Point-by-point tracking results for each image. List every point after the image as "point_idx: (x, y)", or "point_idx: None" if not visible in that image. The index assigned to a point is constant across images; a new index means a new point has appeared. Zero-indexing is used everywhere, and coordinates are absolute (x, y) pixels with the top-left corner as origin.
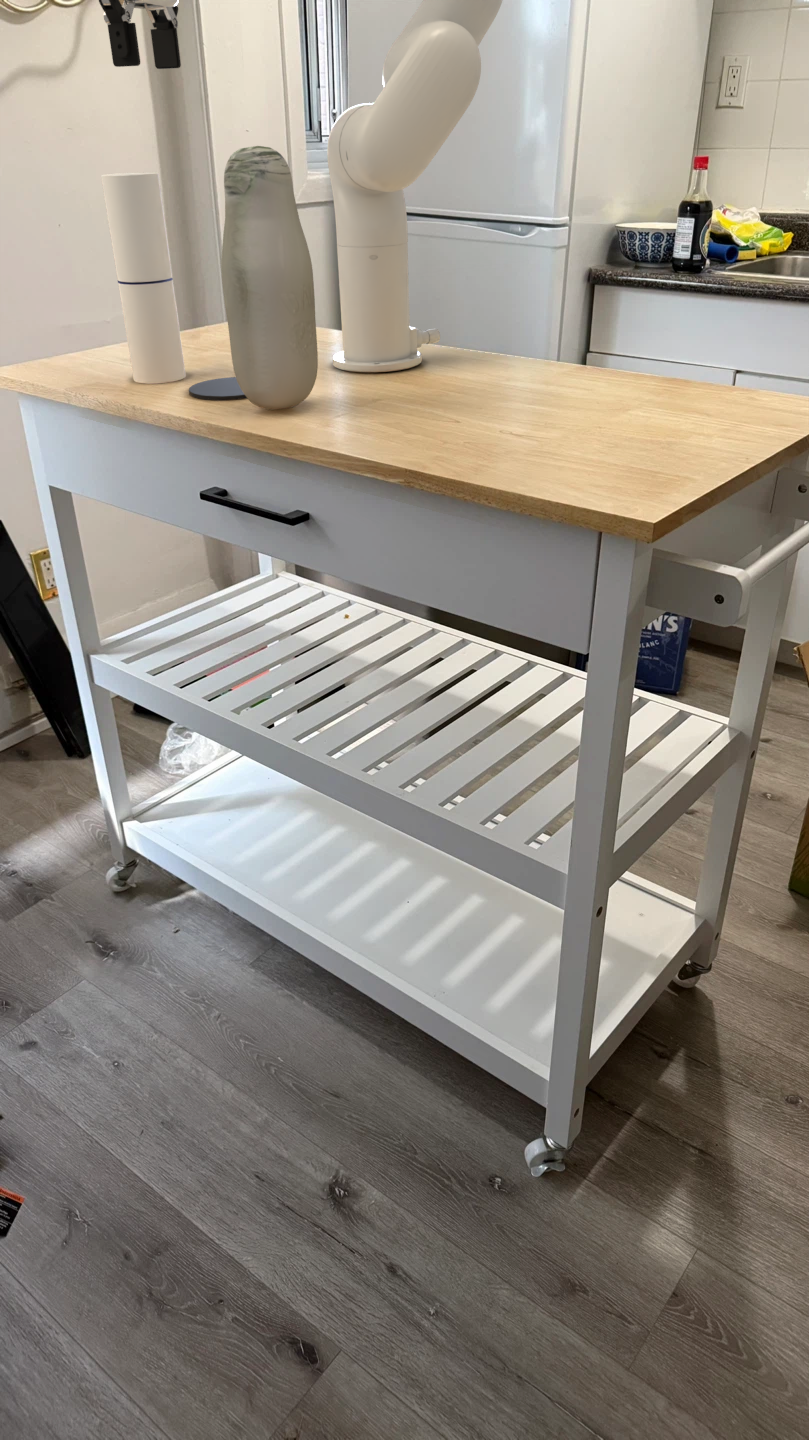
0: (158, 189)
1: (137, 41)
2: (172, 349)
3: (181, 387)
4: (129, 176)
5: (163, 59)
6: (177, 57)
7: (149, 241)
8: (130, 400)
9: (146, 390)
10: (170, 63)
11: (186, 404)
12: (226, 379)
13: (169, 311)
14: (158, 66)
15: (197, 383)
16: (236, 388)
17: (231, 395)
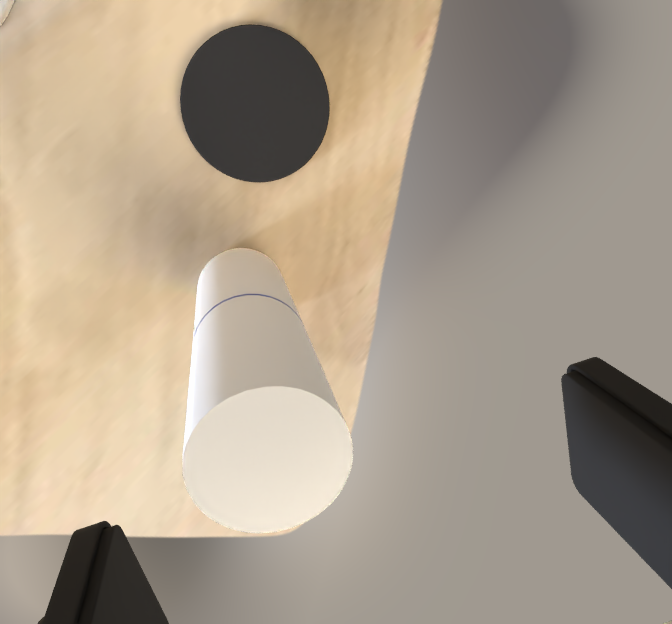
0: (234, 374)
1: (645, 416)
2: (248, 259)
3: (277, 206)
4: (329, 405)
5: (147, 619)
6: (92, 558)
7: (283, 326)
8: (376, 219)
9: (317, 245)
10: (132, 566)
11: (363, 114)
12: (220, 151)
13: (245, 277)
14: (163, 620)
15: (266, 179)
16: (265, 85)
17: (310, 58)
